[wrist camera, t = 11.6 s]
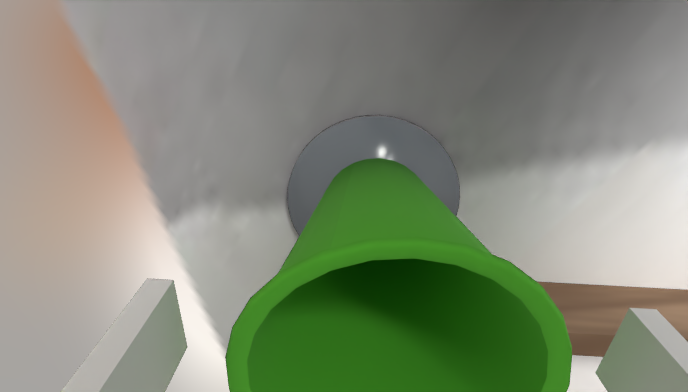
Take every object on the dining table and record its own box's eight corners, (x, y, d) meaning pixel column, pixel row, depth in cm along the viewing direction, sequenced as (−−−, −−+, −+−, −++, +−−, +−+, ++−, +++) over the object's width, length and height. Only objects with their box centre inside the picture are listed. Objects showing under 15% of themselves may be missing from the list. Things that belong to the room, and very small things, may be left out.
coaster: (287, 110, 18) (285, 113, 18) (471, 119, 18) (475, 123, 18) (290, 261, 22) (288, 268, 22) (442, 269, 22) (444, 276, 22)
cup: (334, 292, 22) (318, 512, 13) (257, 161, 19) (150, 320, 9) (482, 240, 21) (602, 447, 11) (427, 84, 17) (528, 178, 7)
